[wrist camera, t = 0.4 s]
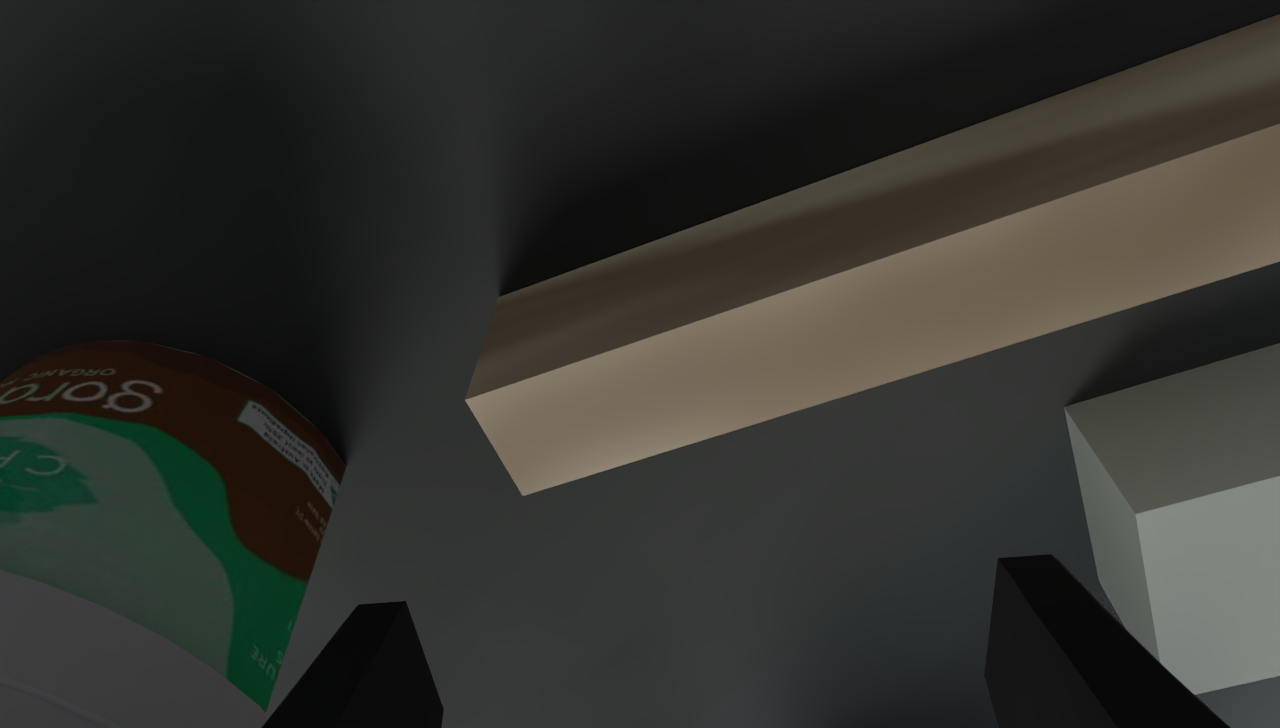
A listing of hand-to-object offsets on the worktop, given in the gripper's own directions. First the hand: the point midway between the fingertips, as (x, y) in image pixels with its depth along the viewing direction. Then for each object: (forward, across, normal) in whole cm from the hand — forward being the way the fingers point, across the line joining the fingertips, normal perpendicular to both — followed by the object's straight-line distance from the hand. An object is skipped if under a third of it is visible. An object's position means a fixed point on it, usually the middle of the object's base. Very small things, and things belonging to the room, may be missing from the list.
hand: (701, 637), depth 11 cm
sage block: (+10, -13, +6) cm, 18 cm away
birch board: (+10, -7, -2) cm, 12 cm away
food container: (+10, +14, +2) cm, 17 cm away
